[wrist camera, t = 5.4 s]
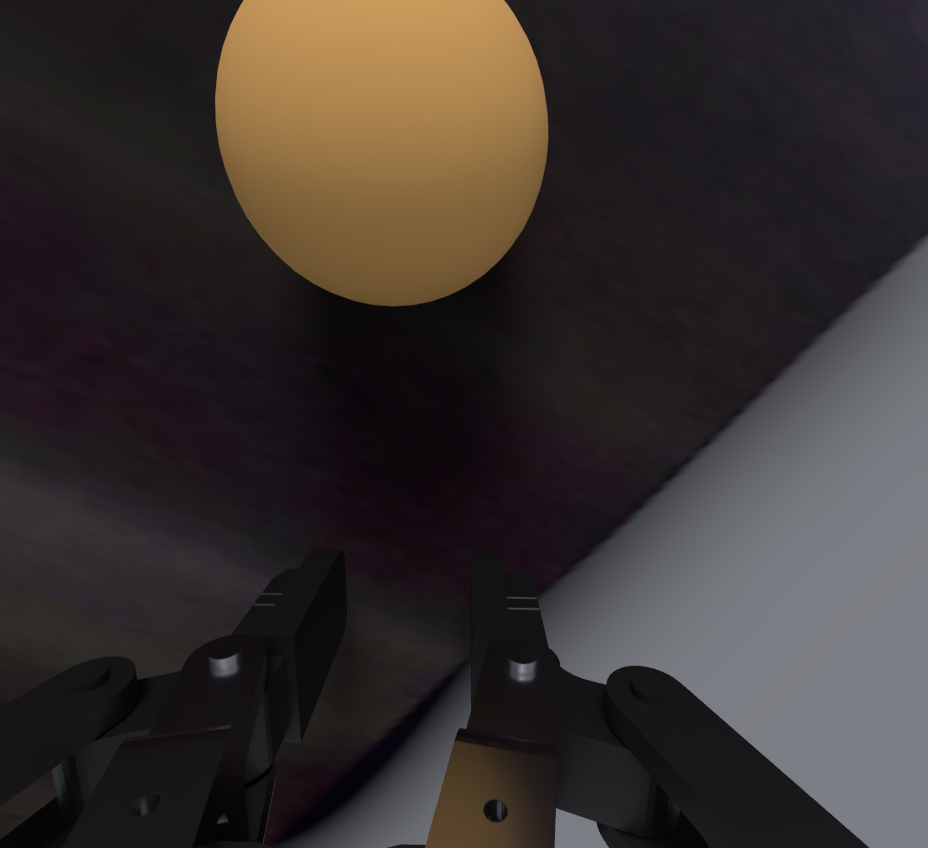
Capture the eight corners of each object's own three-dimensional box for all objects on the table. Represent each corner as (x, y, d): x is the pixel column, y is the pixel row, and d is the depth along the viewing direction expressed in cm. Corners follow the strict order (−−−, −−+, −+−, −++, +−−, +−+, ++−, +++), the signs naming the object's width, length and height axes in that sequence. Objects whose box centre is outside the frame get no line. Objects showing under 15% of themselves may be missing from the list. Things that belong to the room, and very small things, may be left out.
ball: (294, 305, 13) (160, 303, 7) (277, 43, 11) (102, -198, 6) (524, 307, 13) (567, 308, 7) (533, 45, 11) (592, -199, 6)
